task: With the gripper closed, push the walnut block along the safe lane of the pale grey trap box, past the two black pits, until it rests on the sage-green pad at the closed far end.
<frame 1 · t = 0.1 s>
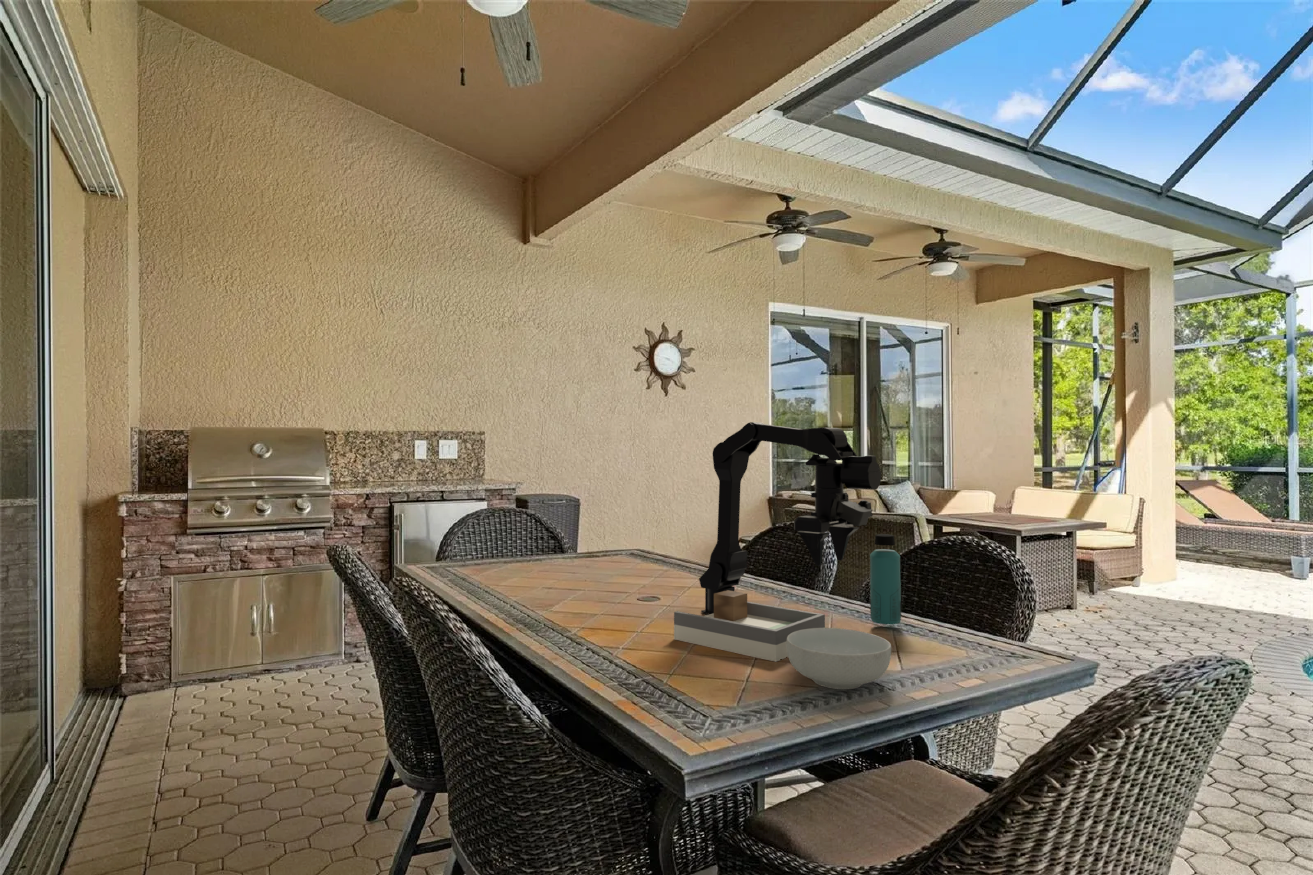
hand: (829, 562, 159), 15 cm above the table, fingers open, 9 cm apart
cereal bowl: (838, 683, 127), on the table
walnut block: (730, 617, 161), point 3 cm above the table, touching trap box
beverage bottle: (885, 628, 164), on the table
trap box: (748, 640, 153), on the table
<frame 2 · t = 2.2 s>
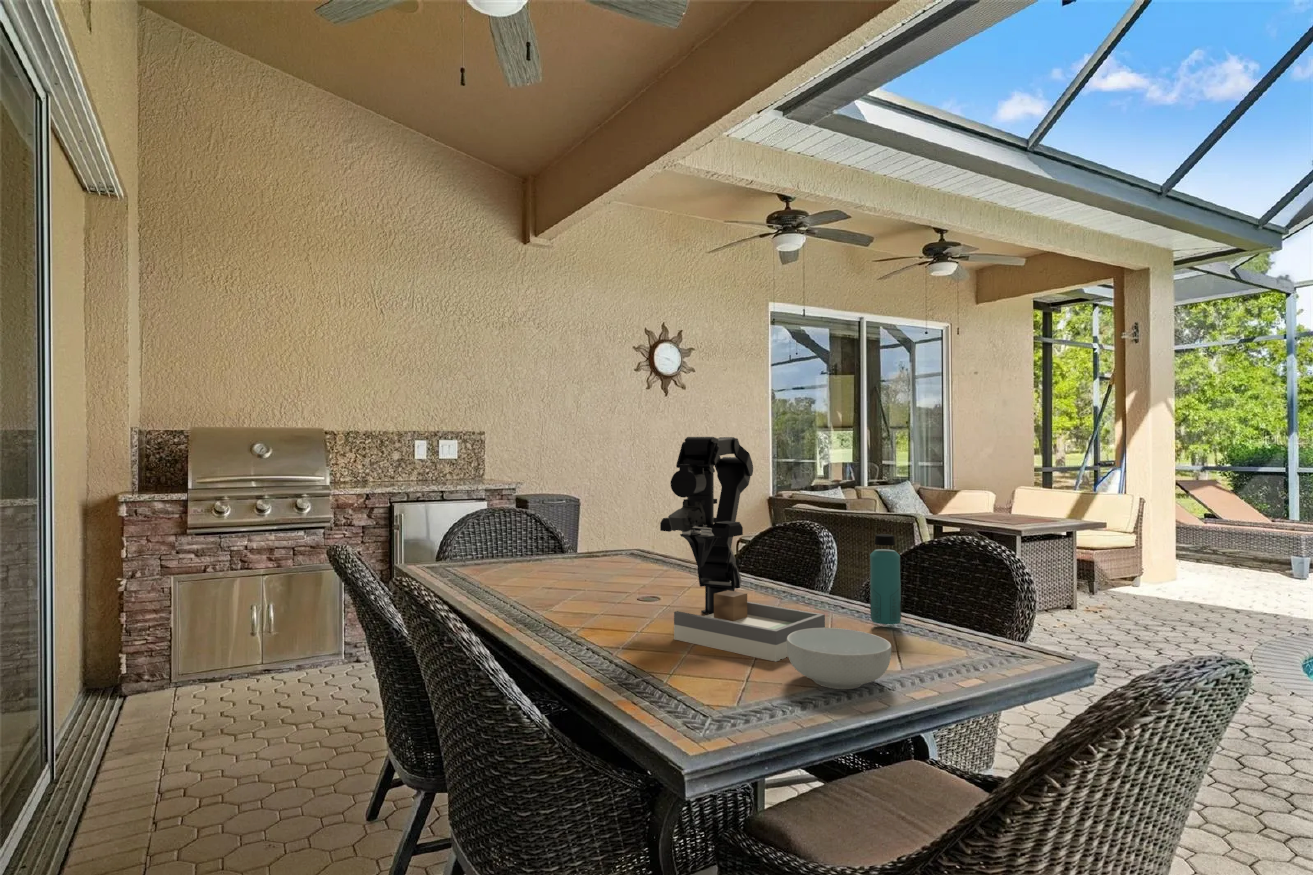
hand: (700, 566, 166), 13 cm above the table, fingers closed
nothing on the table moved.
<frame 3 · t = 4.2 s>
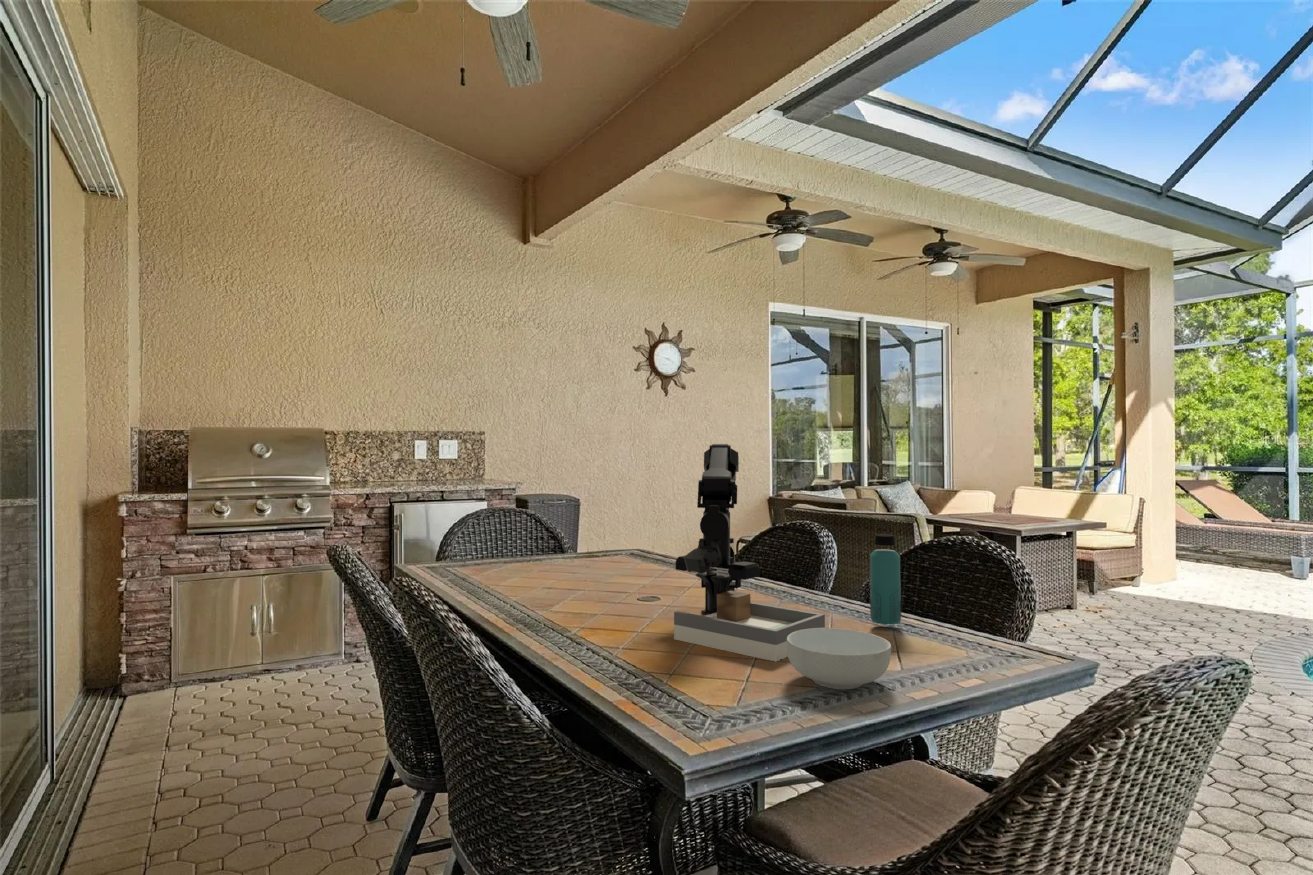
hand: (716, 607, 163), 5 cm above the table, fingers closed
walnut block: (733, 617, 160), point 3 cm above the table, touching gripper
everything else where it was.
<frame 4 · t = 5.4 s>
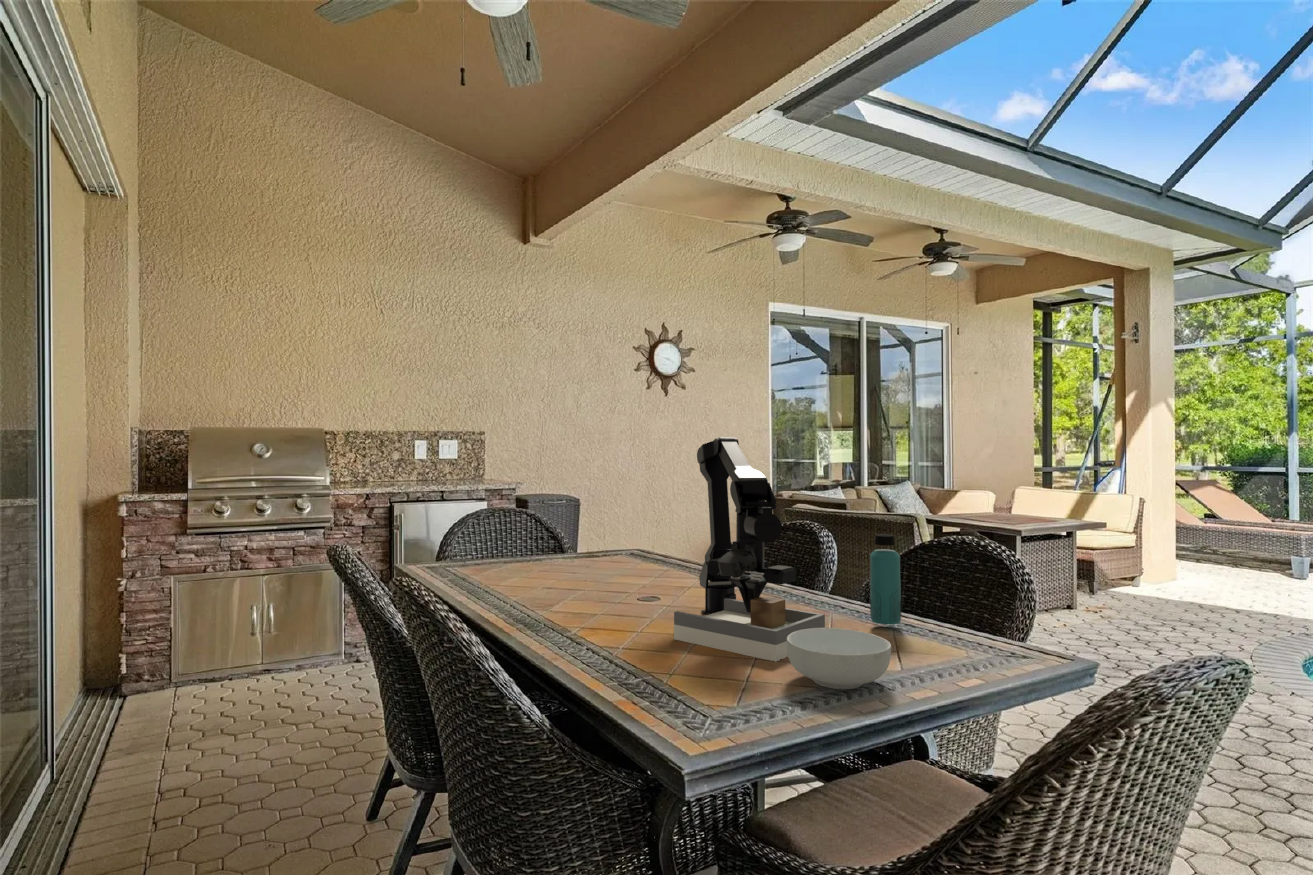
hand: (749, 612, 157), 5 cm above the table, fingers closed
walnut block: (767, 624, 154), point 3 cm above the table, touching gripper, trap box
everything else where it was.
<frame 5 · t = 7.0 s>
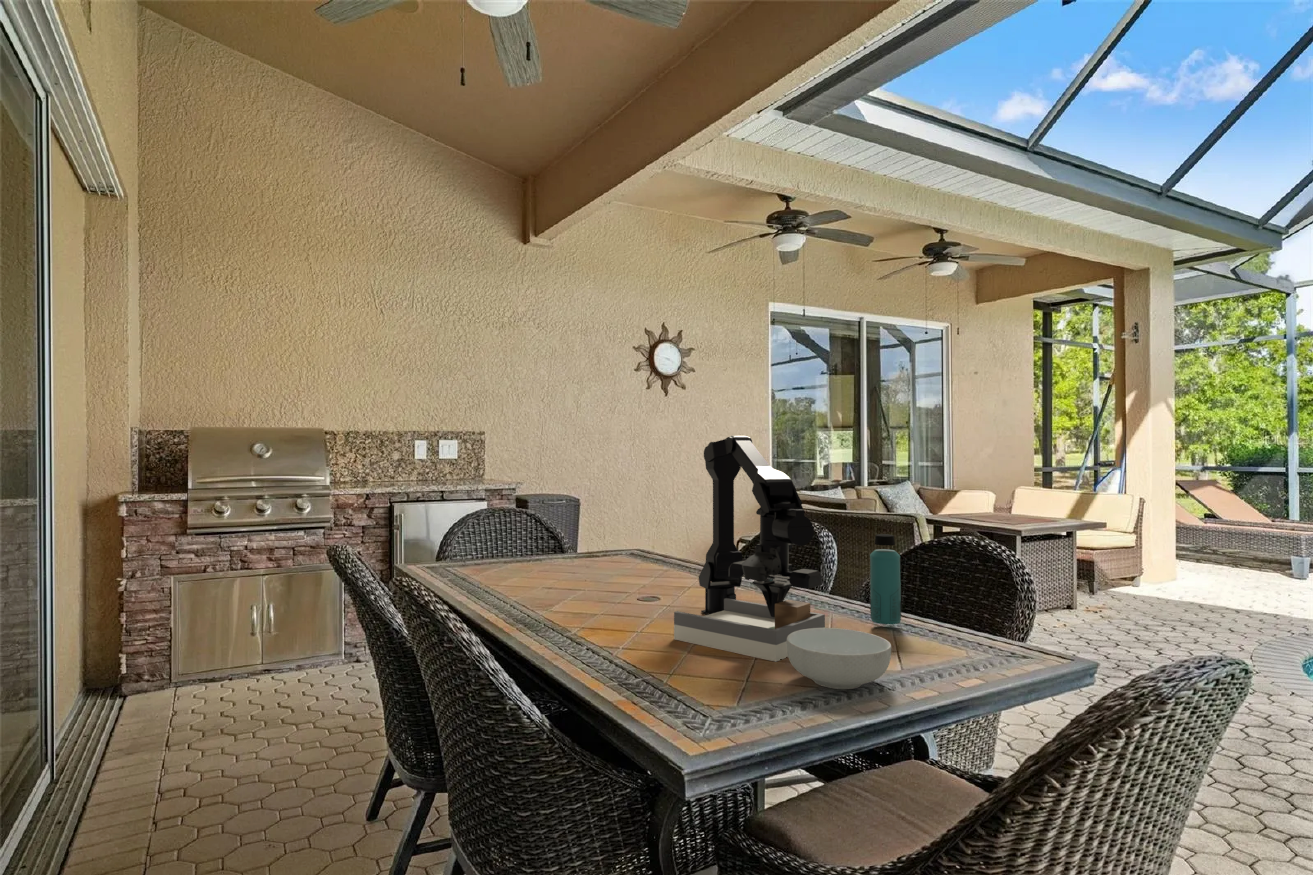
hand: (773, 617, 154), 5 cm above the table, fingers closed
walnut block: (792, 629, 151), point 3 cm above the table, touching gripper, trap box
everything else where it was.
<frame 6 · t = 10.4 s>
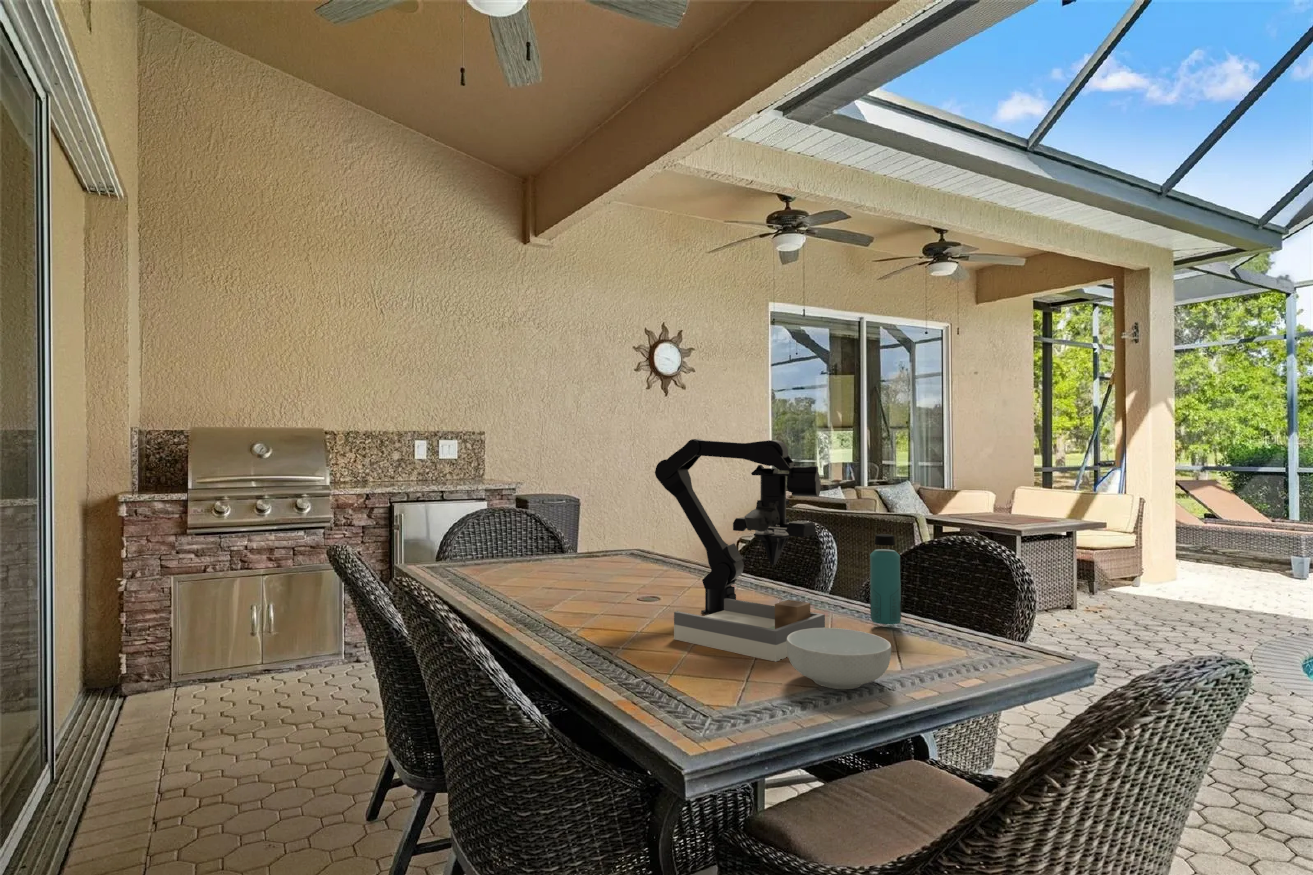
hand: (773, 564, 173), 12 cm above the table, fingers closed
walnut block: (792, 629, 151), point 3 cm above the table, touching trap box
everything else where it was.
at the end: walnut block inside the target area on the trap box (0.7 cm from its centre), point 3.0 cm above the trap box's base; walnut block tilted 0° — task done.
